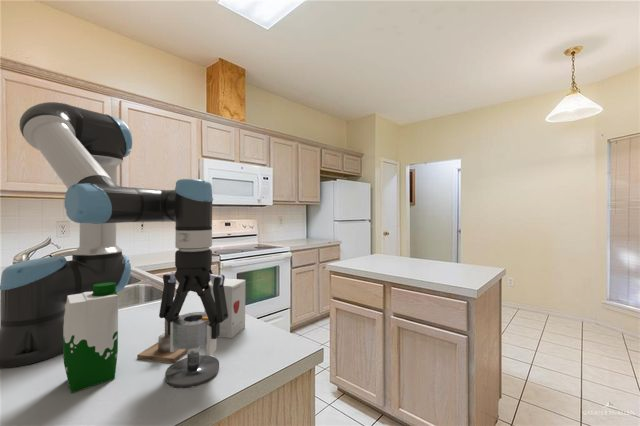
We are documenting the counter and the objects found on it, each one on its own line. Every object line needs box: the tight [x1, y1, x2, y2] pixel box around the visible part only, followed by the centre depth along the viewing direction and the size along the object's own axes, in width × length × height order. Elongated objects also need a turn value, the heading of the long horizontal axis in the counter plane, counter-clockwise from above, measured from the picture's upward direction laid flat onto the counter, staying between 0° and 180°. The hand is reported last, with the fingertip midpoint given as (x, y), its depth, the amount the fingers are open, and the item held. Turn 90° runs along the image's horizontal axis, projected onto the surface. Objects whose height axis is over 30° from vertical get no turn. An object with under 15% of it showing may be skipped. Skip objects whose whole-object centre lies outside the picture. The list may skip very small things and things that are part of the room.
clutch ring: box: [173, 311, 210, 349], centre depth 64 cm, size 8×8×5 cm
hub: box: [164, 347, 220, 389], centre depth 64 cm, size 11×11×8 cm
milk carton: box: [62, 282, 119, 394], centre depth 61 cm, size 9×9×20 cm
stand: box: [136, 318, 187, 364], centre depth 73 cm, size 10×10×10 cm
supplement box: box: [203, 278, 247, 339], centre depth 86 cm, size 9×9×15 cm
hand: (193, 350), depth 64 cm, fingers closed on clutch ring, 8 cm apart
